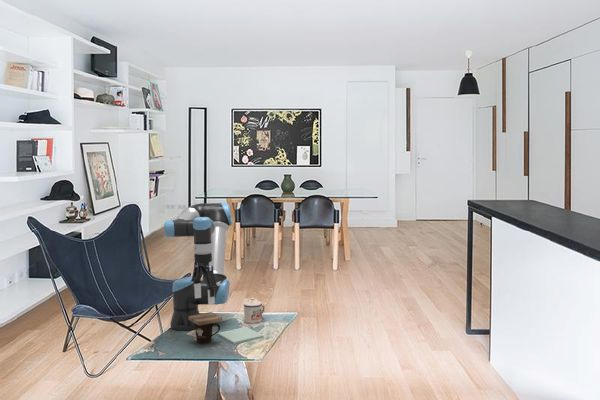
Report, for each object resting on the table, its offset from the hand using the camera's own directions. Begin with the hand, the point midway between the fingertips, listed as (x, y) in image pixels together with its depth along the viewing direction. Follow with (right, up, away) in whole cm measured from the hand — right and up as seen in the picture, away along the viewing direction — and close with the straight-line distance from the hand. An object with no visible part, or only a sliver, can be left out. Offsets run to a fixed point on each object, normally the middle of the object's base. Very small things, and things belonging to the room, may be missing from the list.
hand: (204, 300), depth 256 cm
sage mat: (+15, -18, +9) cm, 25 cm away
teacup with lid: (+20, -16, +34) cm, 42 cm away
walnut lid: (0, -9, +1) cm, 9 cm away
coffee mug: (0, -19, +2) cm, 19 cm away
